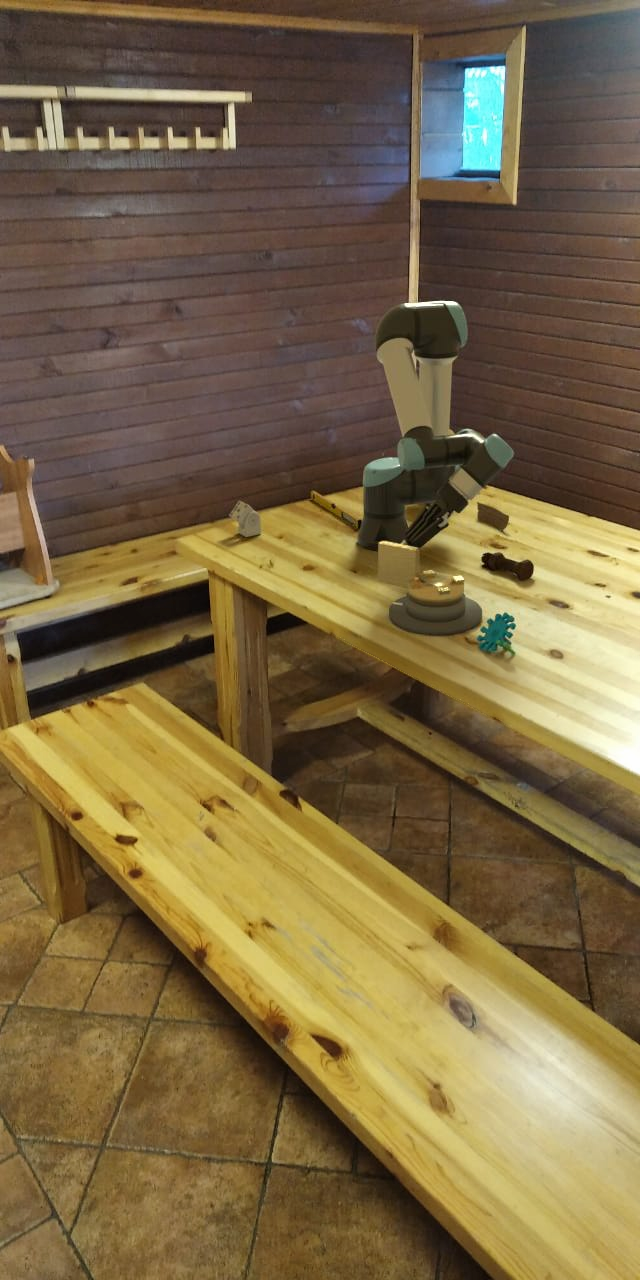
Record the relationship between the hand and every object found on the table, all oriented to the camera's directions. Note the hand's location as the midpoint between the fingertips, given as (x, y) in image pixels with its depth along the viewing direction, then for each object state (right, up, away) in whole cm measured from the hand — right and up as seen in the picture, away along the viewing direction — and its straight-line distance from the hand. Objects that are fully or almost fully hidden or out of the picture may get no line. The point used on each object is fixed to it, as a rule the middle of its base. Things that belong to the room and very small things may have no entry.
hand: (390, 563), depth 237 cm
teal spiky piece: (+22, -21, -20) cm, 36 cm away
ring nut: (+7, -7, -4) cm, 11 cm away
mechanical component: (-39, +12, +51) cm, 65 cm away
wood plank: (+34, +15, +53) cm, 65 cm away
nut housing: (+10, -13, -4) cm, 17 cm away
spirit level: (-12, +20, +67) cm, 71 cm away
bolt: (+32, -1, +20) cm, 37 cm away
